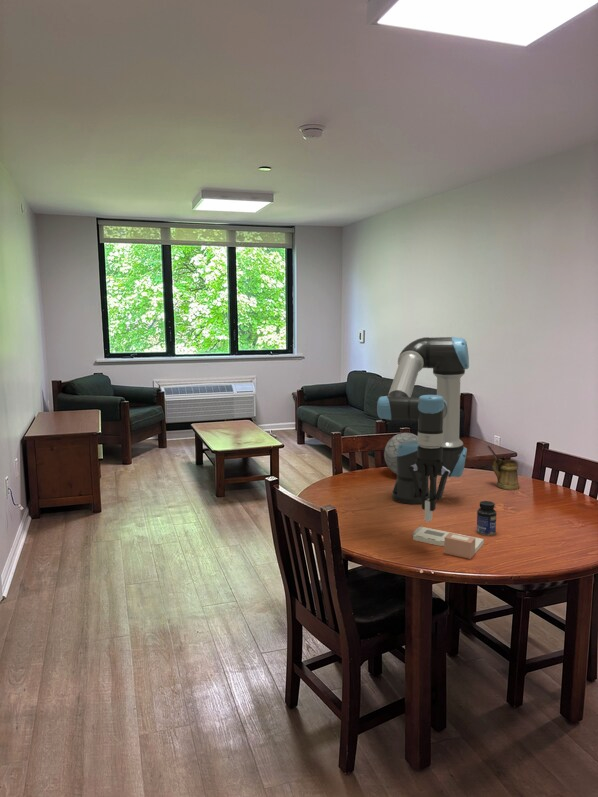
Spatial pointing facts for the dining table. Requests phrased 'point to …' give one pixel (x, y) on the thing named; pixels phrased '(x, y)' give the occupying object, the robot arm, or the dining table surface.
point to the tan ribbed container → (505, 473)
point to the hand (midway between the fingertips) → (428, 520)
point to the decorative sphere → (392, 446)
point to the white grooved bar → (440, 537)
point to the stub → (459, 545)
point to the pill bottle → (486, 518)
